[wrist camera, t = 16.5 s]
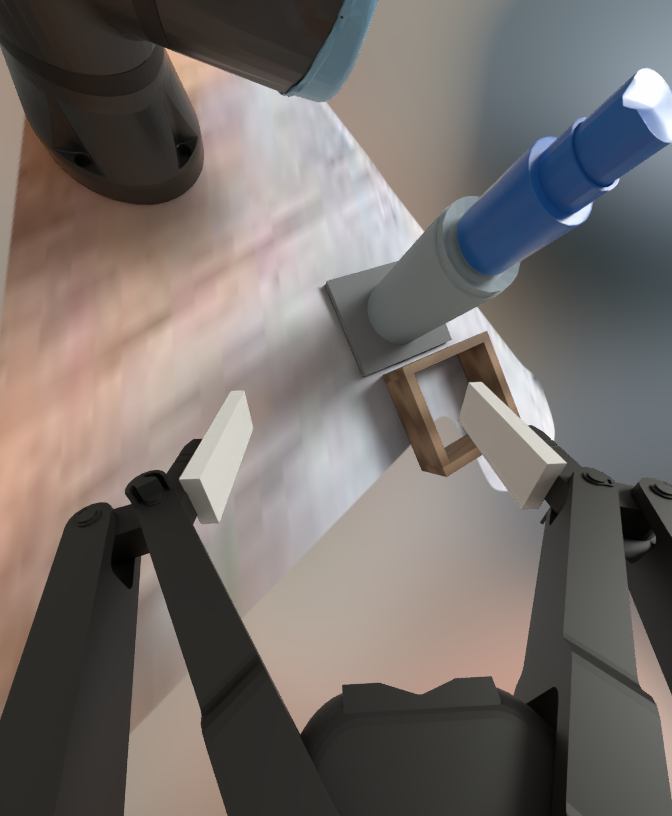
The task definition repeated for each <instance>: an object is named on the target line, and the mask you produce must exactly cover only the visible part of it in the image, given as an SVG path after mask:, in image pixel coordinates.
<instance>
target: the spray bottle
mask: <svg viewBox="0 0 672 816" xmlns="http://www.w3.org/2000/svg"><path fill="white" fill-rule="evenodd" d="M671 142H672V91H671V89H670V88H669V86H668V84H667V83H666V81H665V80H664V79H663V78H662V77H661V75H659V74H658V73H657V72H656V71H654V70H653V69H650V68H646V67H645V68H643V69H640V70H639V71H638V72H637V73H636V74H634V75H633V76H632V77H631V78H630V79H629V80H628V81H627V82H626V83H625V84H624V85H622V86H621V87H620V89H618V90H617V91H616V92H615V93H614V94H613V95H612V96H611V97H610V98H608V99H607V100H606V101H605V102H604V103H603V104H602V105H601V106H600V107H599V108H597V109H596V110H595V111H594V112H593V113H592V114H591V115H590V116H589V117H588V118H586V117H583V118H580V119H578V120H576V121H575V122H574V123H573V124H572V125H571V126H570V127H569V128H568V129H567V130H566V131H565V132H564V133H563V134H562V135H561V136H559V137H558V138H557V137H550V136H545V137H543V138H541V139H539V140H537V141H536V142H535V143H534V144H533V145H532V146H531V147H530V148H529V149H528V150H527V151H526V152H525V153H524V154H523V155H522V156H521V157H520V158H519V159H518V160H517V161H516V162H515V163H514V164H513V165H512V166H511V167H510V168H509V169H508V170H507V171H506V172H505V173H504V174H503V175H502V176H501V177H500V178H499V179H498V180H497V181H496V182H495V183H494V184H493V185H492V186H491V187H490V188H489V189H488V190H487V191H486V192H485V193H484V194H483V195H482V196H481V197H478V196H465V197H463V198H461V199H459V200H457V201H455V202H454V203H453V204H452V205H450V206H448V207H446V208H445V209H444V210H443V212H442V213H441V214H440V215H439V216H438V217H437V218H436V220H435V221H434V222H433V223H432V224H431V225H430V226H429V227H428V229H427V230H426V231H425V232H424V233H423V234H422V235H421V236H420V237H419V239H418V240H417V241H416V242H415V243H414V244H413V245H412V247H411V248H410V249H409V250H408V251H407V252H406V253H405V254H404V256H403V257H402V258H401V259H400V260H399V261H398V262H397V263H396V265H395V266H394V267H393V268H392V269H391V270H390V271H389V273H388V274H387V275H386V276H385V277H384V278H383V279H382V280H381V282H380V283H379V284H378V285H377V286H376V287H375V289H374V290H373V291H372V292H371V294H370V297H369V299H368V304H367V313H368V317H369V320H370V323H371V325H372V327H373V328H374V330H375V332H376V333H378V334H379V335H380V336H381V337H382V338H383V339H385V340H387V341H389V342H391V343H394V344H405V343H410V342H411V341H413V340H415V339H417V338H419V337H421V336H423V335H425V334H426V333H428V332H430V331H432V330H434V329H436V328H438V327H439V326H441V325H443V324H445V323H447V322H449V321H451V320H453V319H454V318H456V317H458V316H460V315H462V314H464V313H466V312H467V311H469V310H471V309H473V308H475V307H477V306H479V305H480V304H482V303H484V302H486V301H488V300H490V299H492V298H494V297H495V296H497V295H498V294H499V293H501V292H502V291H504V289H505V288H506V287H508V286H509V285H510V284H511V283H512V282H513V280H514V279H515V277H516V276H517V273H518V270H519V266H520V261H522V260H523V259H525V258H526V257H528V256H530V255H531V254H533V253H534V252H536V251H538V250H539V249H541V248H543V247H544V246H546V245H547V244H549V243H551V242H552V241H554V240H556V239H557V238H559V237H560V236H562V235H564V234H565V233H567V232H568V231H570V230H572V229H573V228H575V227H577V226H578V225H580V224H581V223H583V222H584V221H586V219H587V218H588V216H589V214H590V213H591V209H592V204H593V201H594V200H596V199H598V198H599V197H601V196H602V195H604V194H605V193H607V192H608V191H610V190H611V189H613V188H614V187H615V186H616V184H617V183H618V181H619V178H620V177H621V176H623V175H624V174H626V173H627V172H629V171H630V170H632V169H633V168H634V167H636V166H638V165H639V164H641V163H642V162H643V161H645V160H646V159H648V158H649V157H651V156H652V155H654V154H655V153H657V152H658V151H660V150H661V149H663V148H664V147H666V146H667V145H669V144H670V143H671Z"/></svg>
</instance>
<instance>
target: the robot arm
mask: <svg viewBox="0 0 672 816" xmlns="http://www.w3.org/2000/svg"><path fill="white" fill-rule="evenodd" d="M377 1H378V0H0V47H1V50H2V52H3V55H4V58H5V60H6V63H7V66H8V69H9V71H10V74H11V77H12V80H13V82H14V85H15V88H16V90H17V93H18V96H19V99H20V101H21V104H22V107H23V109H24V112H25V114H26V117H27V119H28V121H29V123H30V125H31V127H32V128H33V130H34V132H35V133H36V135H37V136H38V138H39V139H40V141H41V142H42V143H43V145H44V146H45V147H46V149H47V150H48V151H49V153H50V154H51V155H52V157H53V158H54V159H55V161H56V162H57V163H58V164H59V165H60V166H61V167H62V169H64V170H65V171H66V172H67V173H68V174H69V175H70V176H71V177H73V178H74V179H75V180H77V181H78V182H79V183H81V184H82V185H84V186H86V187H87V188H89V189H91V190H93V191H95V192H97V193H99V194H101V195H104V196H106V197H109V198H112V199H115V200H119V201H123V202H129V203H137V204H152V203H159V202H164V201H168V200H171V199H173V198H176V197H178V196H180V195H181V194H183V193H184V192H186V191H187V190H188V189H189V188H190V187H191V186H192V185H193V184H194V183H195V182H196V180H197V179H198V177H199V175H200V173H201V170H202V166H203V161H204V149H203V142H202V137H201V131H200V126H199V122H198V119H197V116H196V113H195V110H194V108H193V106H192V104H191V102H190V100H189V98H188V95H187V93H186V91H185V89H184V87H183V85H182V83H181V81H180V79H179V77H178V75H177V72H176V70H175V68H174V66H173V64H172V62H171V60H170V58H169V56H168V54H167V51H166V49H165V48H167V49H170V50H172V51H175V52H177V53H180V54H182V55H185V56H188V57H190V58H193V59H195V60H198V61H201V62H203V63H206V64H208V65H211V66H214V67H216V68H219V69H222V70H224V71H227V72H229V73H232V74H235V75H237V76H240V77H243V78H245V79H248V80H250V81H253V82H256V83H258V84H261V85H263V86H266V87H269V88H271V89H274V90H277V91H278V92H279V93H280V94H281V95H283V96H288V97H290V96H294V95H295V96H298V97H301V98H305V99H308V100H311V101H315V102H325V101H327V100H330V99H331V98H333V97H334V96H335V95H336V94H337V93H338V92H339V90H340V89H341V88H342V87H343V85H344V84H345V82H346V80H347V79H348V77H349V75H350V73H351V71H352V69H353V67H354V65H355V62H356V60H357V58H358V55H359V53H360V51H361V48H362V46H363V43H364V40H365V38H366V35H367V32H368V29H369V26H370V24H371V21H372V17H373V14H374V11H375V8H376V5H377ZM458 421H459V422H460V424H461V425H462V427H463V428H464V429H465V431H466V432H467V434H468V435H469V436H470V438H471V439H472V441H473V442H474V444H475V445H476V446H477V448H478V449H479V451H480V452H481V453H482V455H483V456H484V458H485V459H486V460H487V462H488V463H489V465H490V466H491V467H492V469H493V470H494V472H495V473H496V474H497V476H498V477H499V479H500V480H501V481H502V483H503V484H504V486H505V487H506V488H507V490H508V491H509V493H510V494H511V495H512V497H513V498H514V500H515V501H516V503H517V504H518V505H519V507H520V508H521V509H538V508H539V507H540V506H541V504H542V502H543V501H544V499H545V500H546V501H547V503H548V504H549V505H550V506H551V507H550V508H549V510H548V511H547V513H546V514H545V516H544V517H543V519H542V520H541V522H540V523H541V524H543V523H544V522H545V521H546V522H545V530H544V536H543V542H542V549H541V555H540V563H539V569H538V576H537V582H536V588H535V595H534V602H533V608H532V615H531V622H530V628H529V635H528V641H527V648H526V655H525V661H524V667H523V671H522V675H521V677H520V679H519V681H518V684H517V686H516V689H515V692H514V696H513V695H511V694H510V693H508V692H505V691H503V690H501V689H499V688H496V687H495V684H494V681H493V679H492V677H491V676H490V677H471V678H455V679H453V680H451V681H449V682H447V683H445V684H443V685H441V686H439V687H437V688H435V689H433V690H431V691H429V692H427V693H425V694H421V695H418V694H414V693H411V692H408V691H404V690H401V689H398V688H395V687H391V686H388V685H385V684H382V683H367V684H350V685H342V688H343V689H342V690H343V695H342V694H340V695H338V696H336V697H334V698H332V699H331V700H329V701H328V702H327V703H325V704H324V705H323V706H322V707H321V708H320V709H319V710H318V711H317V712H316V713H315V714H314V715H313V717H312V718H311V719H310V720H309V722H308V723H307V725H306V726H305V728H304V730H303V731H302V733H301V735H300V733H299V731H298V729H297V728H296V726H295V723H294V721H293V719H292V718H291V716H290V714H289V712H288V710H287V708H286V706H285V704H284V702H283V700H282V698H281V696H280V694H279V692H278V691H277V689H276V687H275V685H274V683H273V681H272V679H271V677H270V675H269V673H268V671H267V669H266V667H265V665H264V663H263V661H262V659H261V657H260V655H259V653H258V652H257V649H256V647H255V645H254V644H253V641H252V639H251V638H250V636H249V634H248V632H247V630H246V628H245V626H244V624H243V622H242V620H241V618H240V616H239V614H238V612H237V610H236V608H235V606H234V604H233V602H232V600H231V598H230V596H229V594H228V592H227V590H226V589H225V587H224V585H223V583H222V581H221V579H220V577H219V575H218V573H217V571H216V569H215V567H214V565H213V563H212V561H211V559H210V557H209V555H208V553H207V551H206V549H205V547H204V545H203V543H202V541H201V540H200V538H199V536H198V534H197V532H196V530H195V528H194V526H193V523H194V521H195V519H196V517H198V519H199V521H200V523H201V524H211V523H219V522H220V519H221V516H222V514H223V511H224V508H225V505H226V503H227V500H228V497H229V494H230V492H231V489H232V486H233V483H234V480H235V478H236V475H237V472H238V469H239V467H240V464H241V461H242V458H243V456H244V453H245V450H246V447H247V445H248V442H249V439H250V436H251V433H252V431H253V425H252V420H251V416H250V412H249V408H248V404H247V400H246V395H245V391H244V390H243V391H231V392H230V393H229V395H228V397H227V399H226V400H225V402H224V404H223V405H222V407H221V409H220V410H219V412H218V414H217V416H216V417H215V419H214V421H213V422H212V424H211V426H210V427H209V429H208V431H207V433H206V434H205V436H204V438H203V439H193V440H192V441H190V442H189V443H188V444H187V445H186V446H184V448H183V449H182V451H181V452H180V454H179V456H178V457H177V459H176V460H175V463H173V465H172V466H171V468H170V469H169V471H168V472H167V474H166V473H165V472H163V471H160V470H153V471H148V472H145V473H143V474H141V475H139V476H137V477H135V478H134V479H133V480H132V481H131V482H130V483H129V484H128V485H127V487H126V489H125V494H126V496H127V497H128V499H129V500H130V502H131V503H132V504H130V505H126V506H123V507H119V508H116V509H113V508H112V507H111V505H109V504H108V503H104V502H99V503H95V504H91V505H89V506H87V507H85V508H83V509H81V510H80V511H78V512H77V513H75V514H74V515H73V516H72V517H71V518H70V519H69V521H68V522H67V524H66V526H65V528H64V531H63V534H62V537H61V540H60V543H59V546H58V549H57V552H56V555H55V558H54V561H53V564H52V567H51V570H50V573H49V576H48V579H47V582H46V585H45V588H44V591H43V594H42V597H41V600H40V603H39V606H38V609H37V612H36V615H35V618H34V621H33V624H32V627H31V630H30V633H29V636H28V639H27V642H26V645H25V648H24V651H23V654H22V657H21V660H20V663H19V666H18V669H17V672H16V675H15V678H14V681H13V683H12V686H11V689H10V692H9V695H8V698H7V701H6V704H5V707H4V710H3V713H2V716H1V719H0V816H124V802H125V787H126V773H127V758H128V742H129V728H130V713H131V698H132V684H133V669H134V654H135V639H136V624H137V609H138V594H139V579H140V564H141V556H142V555H145V554H148V553H150V555H151V559H152V562H153V565H154V568H155V571H156V574H157V577H158V580H159V583H160V586H161V589H162V592H163V595H164V598H165V601H166V604H167V608H168V611H169V614H170V617H171V620H172V623H173V626H174V629H175V632H176V635H177V638H178V641H179V644H180V647H181V650H182V654H183V657H184V660H185V663H186V666H187V669H188V672H189V675H190V678H191V681H192V684H193V687H194V690H195V693H196V696H197V699H198V703H199V706H200V709H201V715H202V718H201V728H202V734H203V737H204V741H205V745H206V748H207V751H208V755H209V757H210V761H211V764H212V767H213V771H214V774H215V777H216V780H217V783H218V786H219V790H220V793H221V796H222V799H223V803H224V805H225V809H226V812H227V815H228V816H672V800H671V792H670V785H669V778H668V771H667V764H666V757H665V750H664V743H663V736H662V729H661V721H660V716H659V712H658V708H657V705H656V703H655V702H654V700H653V698H652V697H651V696H650V695H649V694H647V693H646V692H645V691H643V690H642V689H641V687H640V685H639V683H638V678H637V669H636V660H635V650H634V640H633V631H632V621H631V611H630V601H629V592H628V588H629V591H630V593H631V596H632V598H633V601H634V603H635V605H636V608H637V610H638V613H639V615H640V618H641V620H642V623H643V625H644V628H645V630H646V633H647V635H648V637H649V640H650V642H651V645H652V647H653V650H654V652H655V655H656V657H657V660H658V662H659V664H660V667H661V669H662V672H663V674H664V677H665V679H666V682H667V684H668V687H669V689H670V692H671V694H672V485H671V484H668V483H667V482H664V481H660V480H657V479H653V478H642V479H641V480H640V481H639V482H638V483H637V484H636V486H632V485H626V484H621V483H615V481H614V480H613V479H611V478H610V477H609V476H607V475H606V474H604V473H603V472H600V471H598V470H596V469H593V468H589V467H581V466H580V465H579V464H578V463H577V462H576V461H575V460H574V459H572V458H571V457H570V456H569V455H568V454H567V453H566V452H565V451H564V450H563V449H561V448H560V447H559V446H557V444H556V443H555V442H554V441H553V440H551V438H549V437H548V436H547V435H546V434H545V433H544V432H543V431H541V430H539V429H538V428H536V427H534V426H532V425H526V424H525V423H524V422H523V421H522V420H521V419H520V418H519V417H518V416H517V415H516V414H515V413H514V412H513V411H512V410H511V409H510V408H509V407H508V406H506V405H505V404H504V403H503V402H502V401H501V400H500V399H499V398H498V397H497V396H496V395H495V394H494V393H493V392H492V391H491V390H490V389H489V388H488V387H486V386H485V385H484V384H483V383H482V382H469V384H468V387H467V391H466V394H465V398H464V401H463V405H462V408H461V412H460V415H459V419H458ZM654 536H656V539H655V538H654Z"/></svg>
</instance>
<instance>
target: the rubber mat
mask: <svg viewBox="0 0 672 816" xmlns="http://www.w3.org/2000/svg"><path fill="white" fill-rule="evenodd" d="M397 262H398V261H397ZM397 262H393V263H390V264H386V265H383V266H379V267H375V268H372V269H368V270H365V271H361V272H358V273H354V274H351V275H347V276H343V277H340V278H336V279H333V280H329V281H327V282H326V284H325V286H326V289H327V291H328V294H329V296H330V298H331V301H332V303H333V306H334V308H335V310H336V313H337V315H338V318H339V320H340V322H341V325H342V327H343V330H344V332H345V334H346V337H347V339H348V342H349V344H350V346H351V349H352V351H353V354H354V356H355V358H356V361H357V363H358V366H359V368H360V370H361V373H362V375H363V377H365V376H367V375H370V374H372V373H374V372H377V371H379V370H381V369H384V368H386V367H388V366H391V365H393V364H396V363H398V362H400V361H403V360H405V359H407V358H410V357H412V356H414V355H417V354H419V353H422V352H424V351H426V350H429V349H431V348H433V347H436V346H438V345H440V344H443V343H445V342H448V341H450V340H452V339H451V336H450V334H449V331H448V329H447V326H446V324H443V325H441V326H439V327H438V328H436V329H434V330H432V331H430V332H428V333H426V334H425V335H423V336H421V337H419V338H417V339H415V340H413V341H411V342H410V343H405V344H394V343H391V342H389V341H387V340H385V339H383V338H382V337H381V336H380V335H379V334H378V333H376V332H375V330H374V328H373V327H372V325H371V323H370V320H369V317H368V313H367V304H368V299H369V297H370V294H371V292H372V291H373V290H374V289H375V287H376V286H377V285H378V284H379V283H380V282H381V280H382V279H383V278H384V277H385V276H386V275H387V274H388V273H389V271H390V270H391V269H392V268H393V267H394V266H395V265H396V263H397Z"/></svg>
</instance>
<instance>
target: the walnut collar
mask: <svg viewBox="0 0 672 816" xmlns="http://www.w3.org/2000/svg"><path fill="white" fill-rule="evenodd" d="M456 354H458V356H459V359H460V361H461V364H462V367H463V369H464V372H465V374H466V377H467V379H468V382H482V383H483V384H484V385H485V386H486V387H488V388H489V389H490V390H491V391H492V392H493V393H494V394H495V395H496V396H497V397H498V398H499V399H500V400H501V401H502V402H503V403H504V404H505V405H506V406H508V407H509V408H510V409H511V410H512V411H513V412H514V413H515V414H516V415H517V416H518V417H519V418H520V416H519V413H518V411H517V408H516V405H515V403H514V400H513V397H512V395H511V392H510V390H509V387H508V384H507V382H506V379H505V377H504V374H503V371H502V369H501V366H500V364H499V361H498V358H497V356H496V353H495V350H494V348H493V345H492V343H491V340H490V337H489V335H488V332H487V331H486V332H483V333H481V334H478V335H476V336H473V337H471V338H468V339H466V340H464V341H461V342H459V343H456V344H454V345H452V346H449V347H447V348H445V349H442V350H440V351H438V352H435V353H433V354H431V355H429V356H426V357H424V358H422V359H419V360H417V361H415V362H412V363H410V364H408V365H405V366H403V367H401V368H398V369H396V370H394V371H391V372H389V373H387V374H385V375H383V377H384V380H385V382H386V384H387V387H388V389H389V392H390V394H391V397H392V399H393V401H394V404H395V406H396V409H397V411H398V414H399V416H400V418H401V421H402V423H403V426H404V428H405V431H406V433H407V436H408V438H409V440H410V443H411V445H412V448H413V450H414V453H415V455H416V457H417V460H418V462H419V465H420V467H421V470H422V471H426V472H430V473H433V474H438V475H441V476H446V477H447V476H449V475H450V474H452V473H453V472H455V471H457V470H458V469H460V468H462V467H463V466H465V465H466V464H468V463H469V462H471V461H473V460H474V459H476V458H478V457H479V456H481V455H482V453H481V452H480V451H479V449H478V448H477V446H476V445H475V444H474V442H473V441H472V439H471V438H470V436H469V435H468V434H467V435H466V436H464V437H462V438H460V439H459V440H457V441H455V442H454V443H452V444H450V445H448V446H447V447H445V448H444V447H443V444H442V442H441V439H440V437H439V434H438V432H437V430H436V427H435V424H434V422H433V419H432V417H431V414H430V412H429V409H428V407H427V404H426V402H425V400H424V397H423V395H422V392H421V390H420V387H419V385H418V382H417V380H416V377H415V375H414V373H416V372H418V371H420V370H423V369H425V368H427V367H429V366H432V365H434V364H436V363H438V362H440V361H443V360H445V359H447V358H449V357H452V356H454V355H456ZM520 419H521V418H520Z"/></svg>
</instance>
